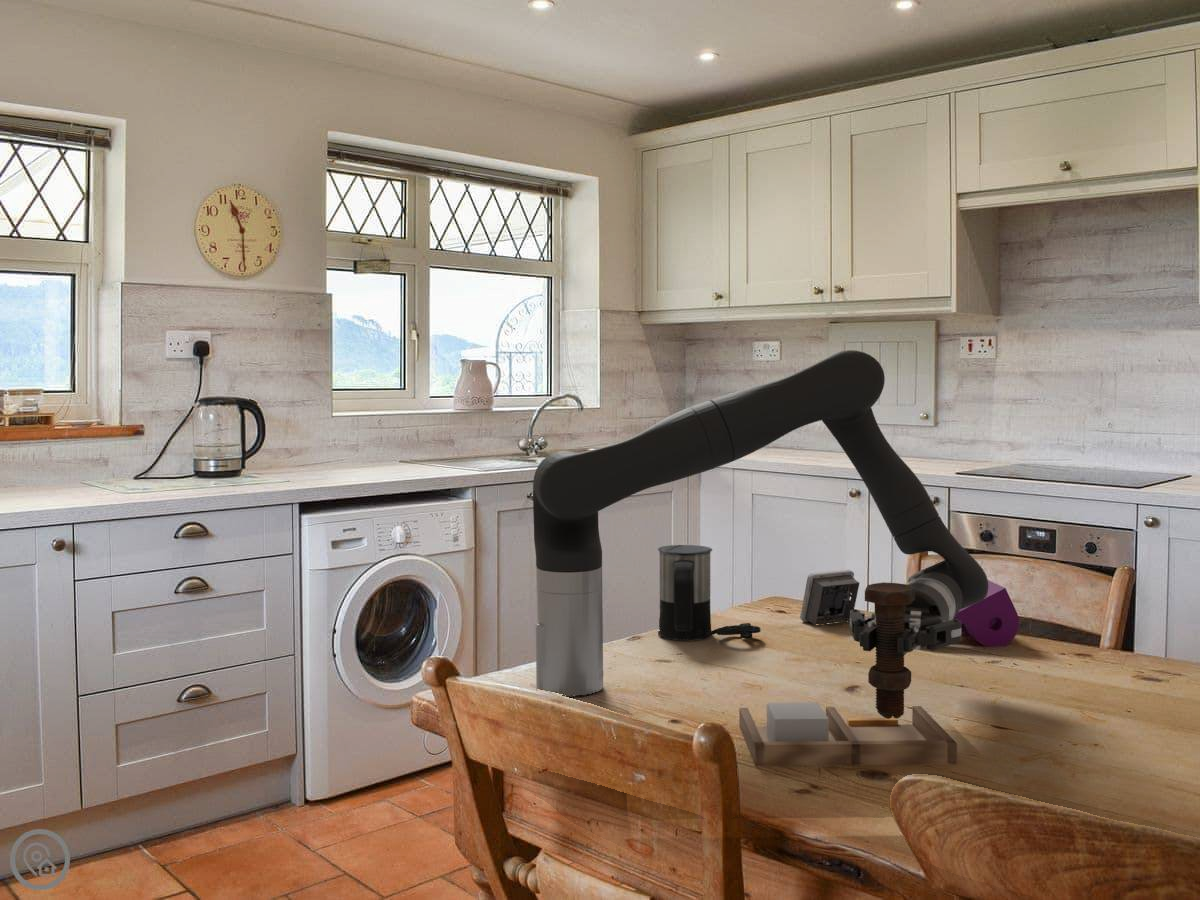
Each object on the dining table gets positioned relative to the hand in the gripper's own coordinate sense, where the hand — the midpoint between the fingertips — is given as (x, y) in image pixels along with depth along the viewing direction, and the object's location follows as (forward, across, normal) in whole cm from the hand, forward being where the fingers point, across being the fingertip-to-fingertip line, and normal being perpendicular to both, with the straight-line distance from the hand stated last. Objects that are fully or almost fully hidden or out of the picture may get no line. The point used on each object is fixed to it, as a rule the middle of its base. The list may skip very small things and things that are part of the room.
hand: (883, 644), depth 120 cm
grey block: (+3, -9, +12) cm, 16 cm away
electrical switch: (-63, -26, +14) cm, 69 cm away
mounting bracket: (-60, -5, +15) cm, 62 cm away
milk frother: (-43, -41, +14) cm, 61 cm away
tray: (0, -5, +13) cm, 14 cm away
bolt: (-3, 0, +9) cm, 10 cm away
